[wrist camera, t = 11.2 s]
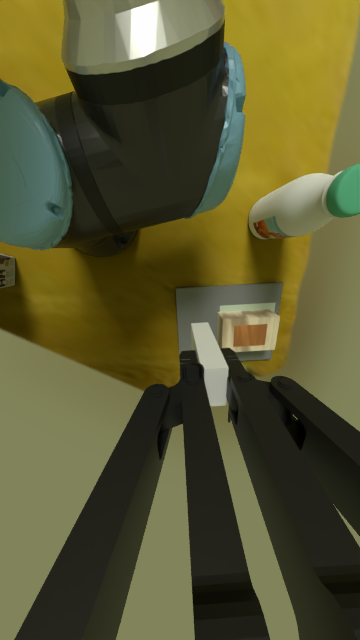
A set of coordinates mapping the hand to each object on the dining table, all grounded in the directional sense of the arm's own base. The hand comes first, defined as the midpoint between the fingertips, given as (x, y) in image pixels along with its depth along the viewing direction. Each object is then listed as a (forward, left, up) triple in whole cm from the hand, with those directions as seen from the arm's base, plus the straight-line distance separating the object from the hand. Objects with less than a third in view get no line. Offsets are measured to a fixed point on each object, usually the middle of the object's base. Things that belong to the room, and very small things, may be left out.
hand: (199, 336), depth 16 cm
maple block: (+8, -11, -23) cm, 27 cm away
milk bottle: (+17, +12, -27) cm, 34 cm away
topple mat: (+10, -11, -26) cm, 30 cm away
